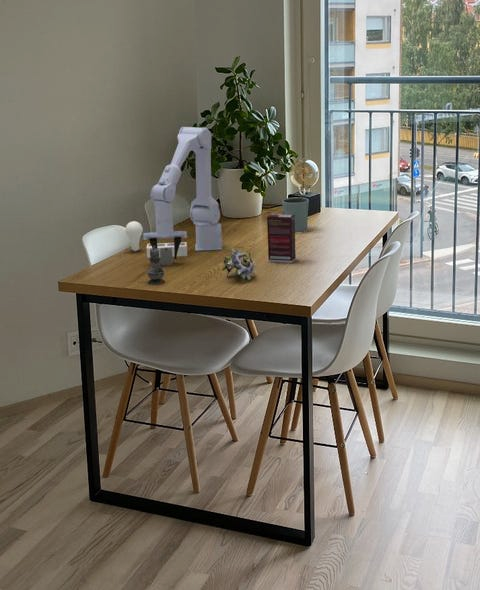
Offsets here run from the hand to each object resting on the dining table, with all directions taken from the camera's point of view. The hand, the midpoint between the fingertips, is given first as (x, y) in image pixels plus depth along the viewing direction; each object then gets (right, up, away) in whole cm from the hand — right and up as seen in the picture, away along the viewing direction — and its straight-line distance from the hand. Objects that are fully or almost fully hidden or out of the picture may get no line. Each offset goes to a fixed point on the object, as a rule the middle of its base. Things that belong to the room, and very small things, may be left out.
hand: (166, 259), depth 304 cm
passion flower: (+24, -7, -18) cm, 31 cm away
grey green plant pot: (+46, +12, +41) cm, 63 cm away
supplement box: (+39, -1, 0) cm, 39 cm away
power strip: (-1, +2, +12) cm, 12 cm away
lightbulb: (-13, +3, +18) cm, 22 cm away
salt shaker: (-2, -8, -20) cm, 21 cm away
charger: (0, -1, +1) cm, 2 cm away
